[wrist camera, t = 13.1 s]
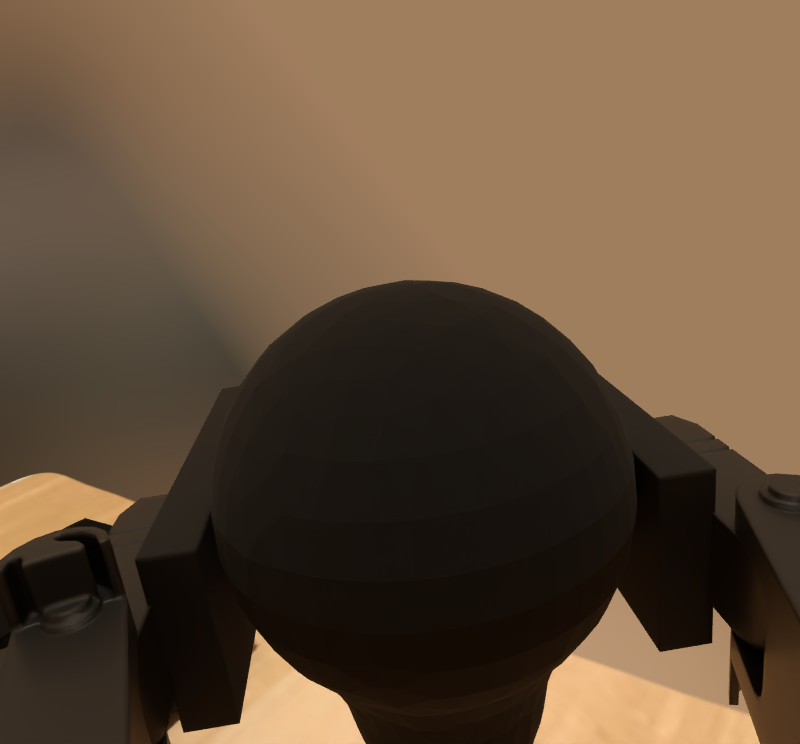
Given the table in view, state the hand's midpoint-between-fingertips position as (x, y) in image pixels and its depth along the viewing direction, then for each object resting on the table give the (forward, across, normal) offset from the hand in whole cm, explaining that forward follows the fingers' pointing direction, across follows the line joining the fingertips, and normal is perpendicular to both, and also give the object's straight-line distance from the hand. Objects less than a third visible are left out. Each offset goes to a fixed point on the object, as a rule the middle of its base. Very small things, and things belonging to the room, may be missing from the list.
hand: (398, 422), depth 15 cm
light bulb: (-5, 0, -6) cm, 8 cm away
